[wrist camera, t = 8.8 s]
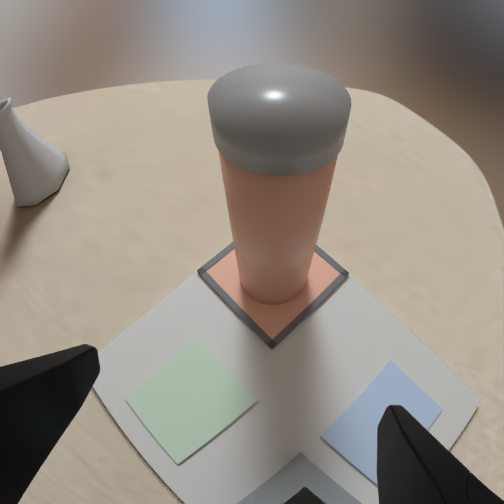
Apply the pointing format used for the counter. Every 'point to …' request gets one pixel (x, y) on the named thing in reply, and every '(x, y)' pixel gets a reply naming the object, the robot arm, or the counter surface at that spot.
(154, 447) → the grey sorting board
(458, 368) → the counter surface
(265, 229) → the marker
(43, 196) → the flask
